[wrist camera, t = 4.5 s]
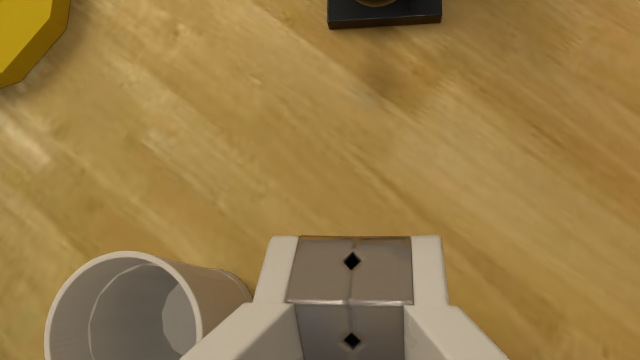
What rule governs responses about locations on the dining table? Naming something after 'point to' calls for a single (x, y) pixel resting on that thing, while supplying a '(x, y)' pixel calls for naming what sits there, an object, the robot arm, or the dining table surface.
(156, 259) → the cup
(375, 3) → the lever with ball knob
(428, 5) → the black lever stand
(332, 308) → the robot arm
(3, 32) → the decorative disc
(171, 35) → the dining table surface
